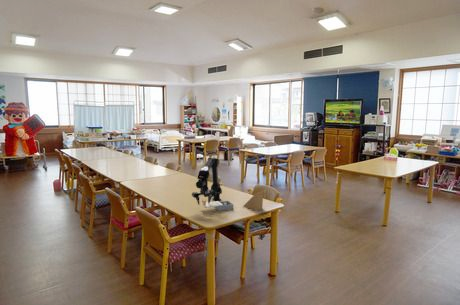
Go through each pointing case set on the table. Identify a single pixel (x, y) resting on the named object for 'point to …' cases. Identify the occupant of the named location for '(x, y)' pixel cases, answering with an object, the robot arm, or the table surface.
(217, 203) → the lid
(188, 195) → the table surface
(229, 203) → the tub
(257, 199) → the sandwich container
